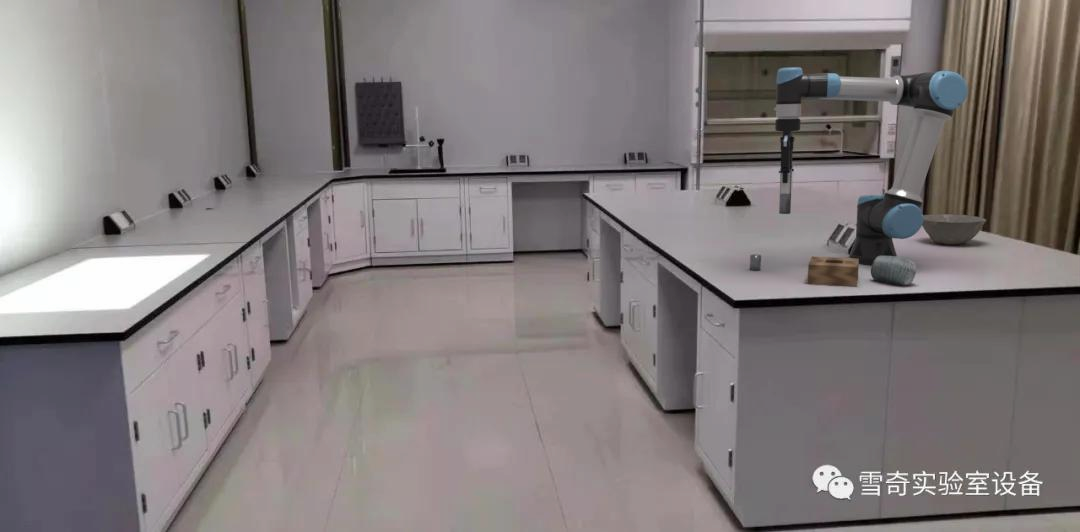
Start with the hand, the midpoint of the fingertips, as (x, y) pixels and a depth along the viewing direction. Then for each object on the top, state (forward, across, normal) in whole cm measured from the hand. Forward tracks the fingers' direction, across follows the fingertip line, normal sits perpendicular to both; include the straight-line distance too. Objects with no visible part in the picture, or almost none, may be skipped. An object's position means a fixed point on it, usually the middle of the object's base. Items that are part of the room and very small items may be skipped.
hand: (785, 192), depth 260 cm
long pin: (+7, 0, 0) cm, 7 cm away
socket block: (+26, +7, +16) cm, 31 cm away
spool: (+27, +5, +33) cm, 43 cm away
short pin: (+26, -3, -9) cm, 28 cm away
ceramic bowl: (+27, -74, +54) cm, 95 cm away
